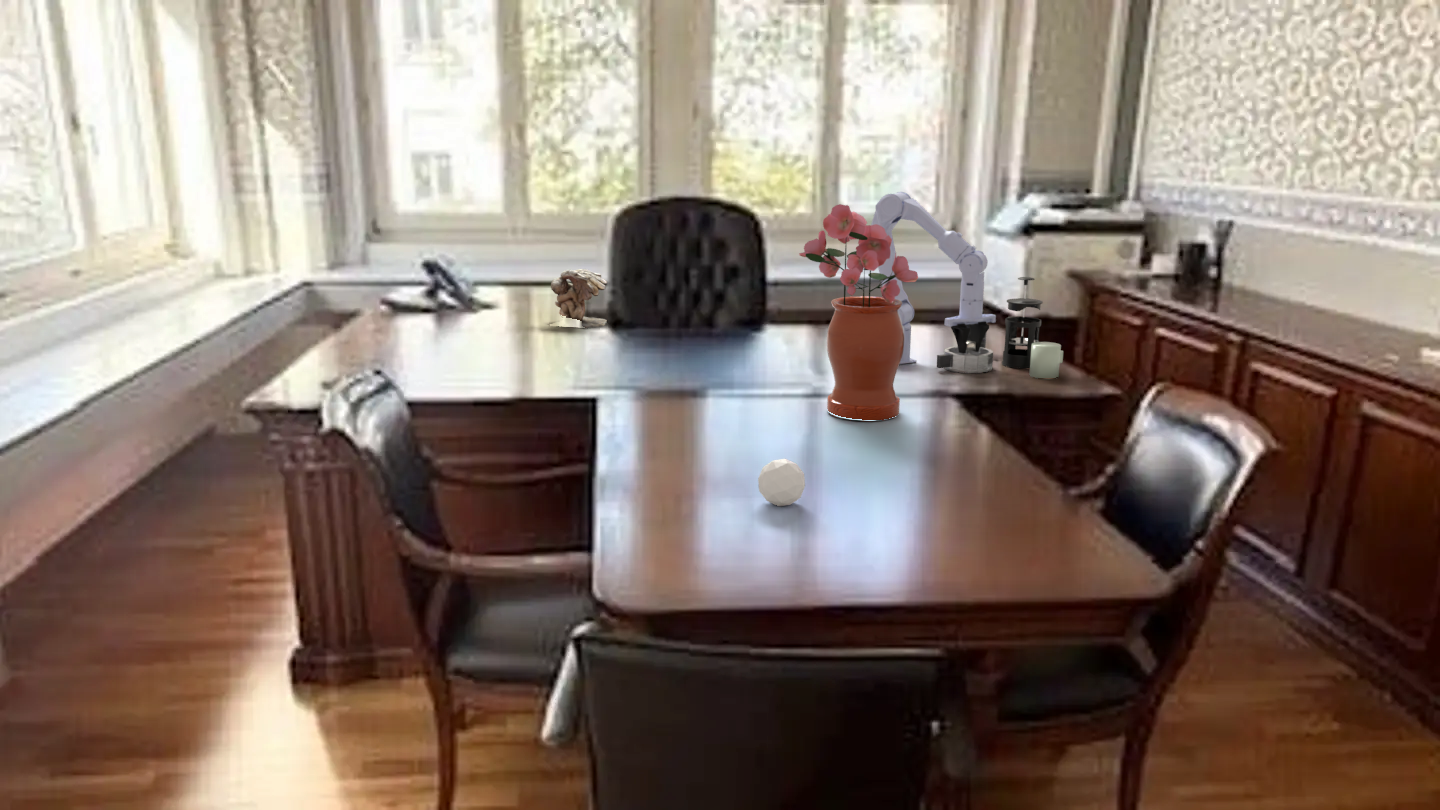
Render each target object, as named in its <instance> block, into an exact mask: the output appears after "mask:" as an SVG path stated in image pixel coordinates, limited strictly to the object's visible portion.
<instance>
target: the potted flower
mask: <svg viewBox="0 0 1440 810" xmlns="http://www.w3.org/2000/svg"><path fill="white" fill-rule="evenodd" d="M867 224H868V222H867V220H866V218H865V217H864V216H863V215H861V214H859V213H857V212H855V211H851V209H850V205H848V204H845V205H844V204H841V203H840V204H836V205H834V206H833V207H832V208H831V211H830V213H829V214H827V216H825V217H824V218H823V221H822V227H823V229H824V230H820V231H819V232H818V236H817V237H818V238H814V239H812V240H808V241H807V242H806V243H805V244H804V246H803V250H804V252H800V253H798V255H799V256H800V257H802V258H807V259H808V260H810V261H812V262H815V263H819V265H818V269H819V271H820V273H822V274H823V276H824V277H826V278H829V279H831V278H834V277H836V275H837V273H838V271H839V270H840V269H841V270H842V271H841V275H840V277H839V280H840V283H842V284H843V285H844V286H843V297H838V298H834V299H832V300H831V301H830V303H831V305H832V307H833V308H834V311H833V315H832V318H831V320H830V322H829V325H828V328H827V333H826V351H827V357H828V360H829V362H830V363H829V364H830V367H831V370H832V374H833V380H834V387H833V389H832V392H831V393H830V394H829V395H828V396H827V401H826V403H827V404H826V406H827V407H826V408H827V409H828V411H829V412H831V413H833V414H835V415H838V416H841V417H846V418H852V419H862V420H882V421H885V420H884V419H888V420H890V419H889V418H892V417H895V416H897V415H898V414H899V415H900V406H901V405H900V403H901V402H900V401H901V400H900V397H899V396H897V394H896V389H895V388H894V383H895V382H894V381H895V379H896V375H897V372H898V369H899V366H900V365H901V364H900V361H901V358H902V354H903V349H904V329H903V326H902V322H901V320H900V317H899V314H898V309H900V307H901V306H902V302H901V301H900V300H897V299H895V296H898V295H899V293H900V288H899V286H898V284H897V280H891V279H893V278H895V277H896V278H897V279H898V280H900V281H902V283H903V282H904V283H915V282H917V280H918V279H919V275H918V272H917V271H915V270H911V269H910V266H909V262H908V259H907V257H905V256H903V255H897V252H896V253H895V259H894V263H893V266H892V272H894V274H895V275H893V276H891V275H890V277H887V276H886V275H884V274H880V273H879V272H874V271H876V270H877V269H878V267H879V266H881V265H883V264H884V263H885V261H886V259H889V258H890V253H891V251H890V245H891V242H892V239H891V238H890V236H889V235H888V236H887V234H886V232H885V229H884V228H883V227H882V226H880V225H877V224H875V225H871V224H869V225H867ZM825 231H826V232H827V236H828V237H830V238H833V240H834V239H837V240H838V241H839V242H840V243H842V244H844V245H845V246H844V247H845V248H844V249H845V250H844V251H843V250H840V249H837V248H832V247H828V248H826V247H827V238H826V232H825ZM883 238H884V239H883ZM851 240H858V243H857V244H858V245H857V246H856V247H855V251H851V252H850V253H847V245H846V244H848V243H849V242H850V241H851ZM896 256H897V258H896ZM841 257H844V268H843V267H841V265H842V264H841V262H840V261H839V259H837V258H841ZM865 271H869V273H868V277H869V280H868V281H869V282H868V285H866V284H864V283H865V282H866V281H865V280H866V279H865V277H866V275H865V274H866V273H865ZM862 273H863V283H859V282H858V281H859V280H860V277H861V274H862ZM891 274H892V273H891ZM872 279H873V280H877V281H879V282H880V283H879V284H877V285H876V284H875V285H873V287H874V286H876V287H874V288H873V289H871V286H872V285H871V283H872V282H871V280H872ZM885 279H888V280H887V281H885V282H884V283H886V282H887V283H886V284H885V285H884V286H883V287H882V285H883V284H884V283H882V282H883V281H884V280H885ZM882 280H883V281H882ZM881 281H882V282H881ZM859 285H861V286H863V287H861V286H859ZM846 287H847V290H846ZM856 287H857V288H856ZM865 288H868V295H865ZM857 289H858V290H861V291H862V292H863V293H862V295H858V296H857V295H855V293H856V291H857ZM876 289H880V292H881V296H873V295H872V296H871V293H872V291H874V290H876ZM846 291H847V294H848V295H850V296H846ZM827 409H826V410H827ZM899 415H898V416H899ZM898 416H897V417H898ZM895 418H896V417H895ZM892 419H893V418H892Z"/></svg>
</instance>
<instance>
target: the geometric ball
mask: <svg viewBox="0 0 1440 810" xmlns="http://www.w3.org/2000/svg"><path fill="white" fill-rule="evenodd" d="M757 482H758V492H759V493H760V494H761V495H762V496H763V499H765V501H767V502H768V503H770V504H773V505H774V506H776V505H777V507H783V506H791V505H792V504H793V503H795V502H797V501H798V500H799V499H801V498H802V495H803V493H804V490H805V487H806V478H805V473H804V471H802V469H801V467H800V466H799V464H797V463H796V462H793V461H791V460H789V459H787V458H781V459H773V460H772V461H770V462H769V463H767V464H766V465H764V466H763V467H762V469H761V470H760V473H759V475H758V480H757Z"/></svg>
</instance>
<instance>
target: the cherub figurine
mask: <svg viewBox="0 0 1440 810" xmlns="http://www.w3.org/2000/svg"><path fill="white" fill-rule="evenodd" d="M568 281H570V282H571V283H570V282H568ZM607 284H608V281H607V280H605V279H604V278H602V274H601V273H598V272H597V273H596V272H593V271H591V270H589V269H586V268H578V269H575V270H573V269H565V270H563V271H562V272H561V273H560V277H555V278H554V279H552V281H551V283H550V289H551V290H552V291H553V293H554V294H556V295H557V296H556V300H555V302H554V305H555V306H556V307H558V308H559V311H558V314H559V315H560V316H561V315H562V316H566V318H572V319H577V320H580V321H582V326H583V327H585V328H589V329H592V328H597V327H604V326H605V325H606V324H607V319H605V318H599V317H598V318H597V317H589V316H588V317H587V316H585V313H586V304H585V303H586V302H585V301H590V300H592V297H598V296H600V291H604V290H606V286H607ZM562 316H561V317H562Z"/></svg>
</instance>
